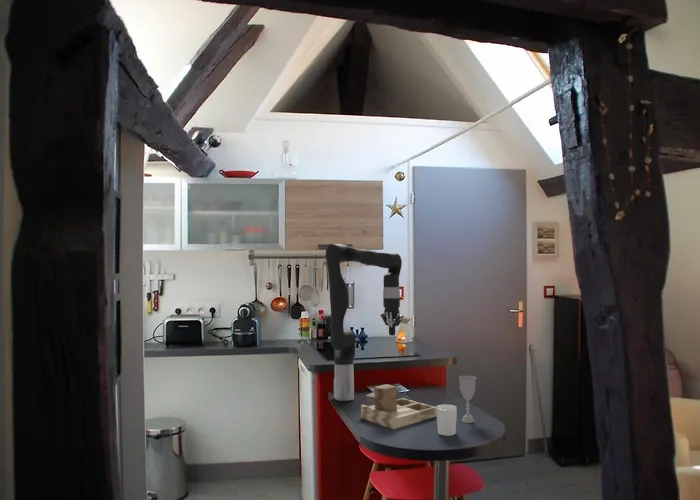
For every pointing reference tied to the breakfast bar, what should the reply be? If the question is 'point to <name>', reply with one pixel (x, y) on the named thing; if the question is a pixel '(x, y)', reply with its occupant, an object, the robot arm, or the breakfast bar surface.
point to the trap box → (399, 414)
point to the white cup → (446, 419)
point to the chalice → (467, 394)
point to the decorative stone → (370, 399)
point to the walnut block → (386, 398)
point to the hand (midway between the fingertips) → (392, 335)
